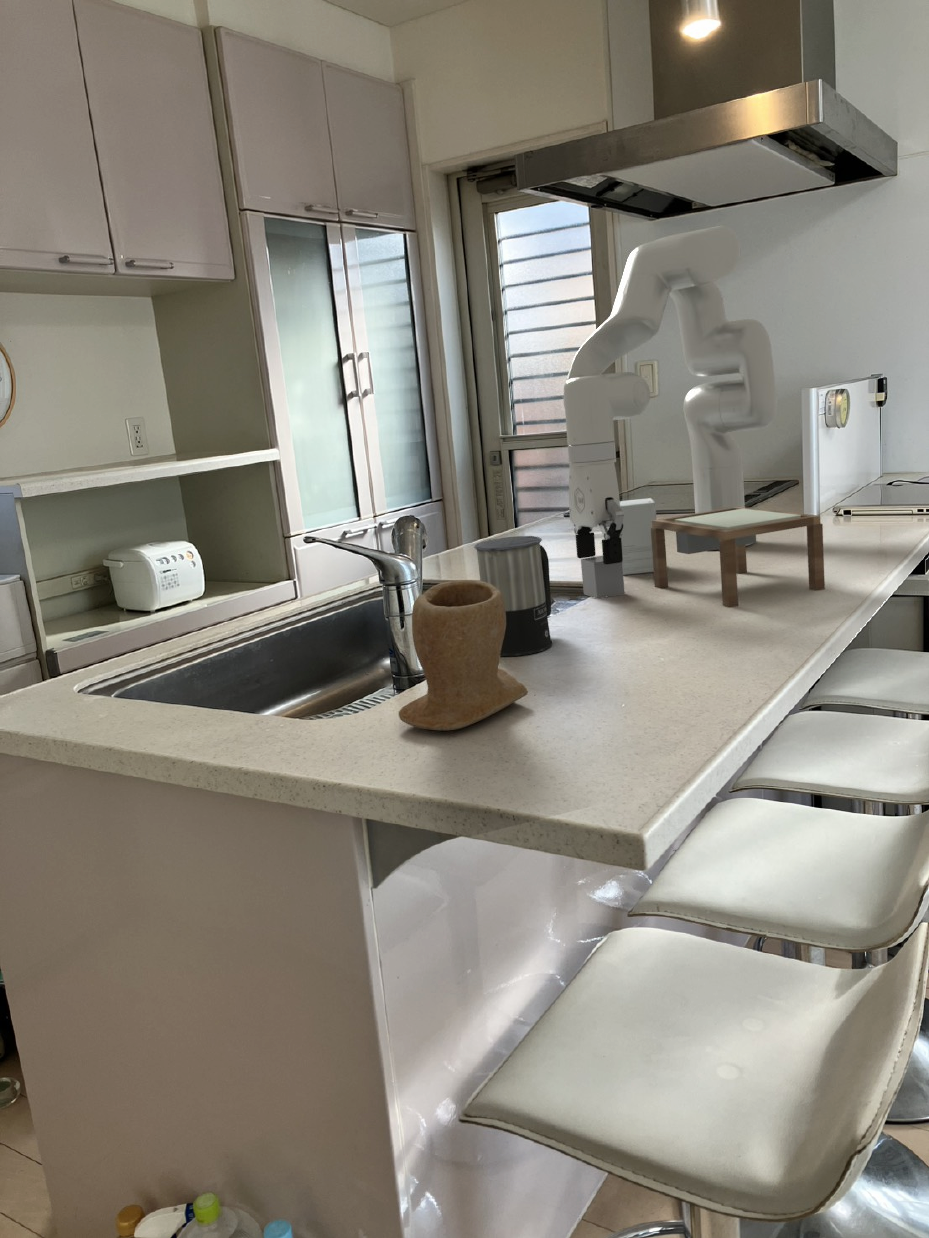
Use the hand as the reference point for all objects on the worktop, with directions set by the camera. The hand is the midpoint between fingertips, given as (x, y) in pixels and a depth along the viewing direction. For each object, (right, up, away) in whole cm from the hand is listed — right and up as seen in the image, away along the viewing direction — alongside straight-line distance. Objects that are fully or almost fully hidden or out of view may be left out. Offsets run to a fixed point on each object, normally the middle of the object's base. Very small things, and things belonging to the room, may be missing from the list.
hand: (599, 560), depth 166 cm
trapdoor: (+21, +1, -7) cm, 22 cm away
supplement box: (+10, -1, +19) cm, 21 cm away
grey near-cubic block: (+1, -6, +2) cm, 6 cm away
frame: (+21, -5, -5) cm, 22 cm away
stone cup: (-21, -21, -55) cm, 62 cm away
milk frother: (-17, -14, -25) cm, 33 cm away
